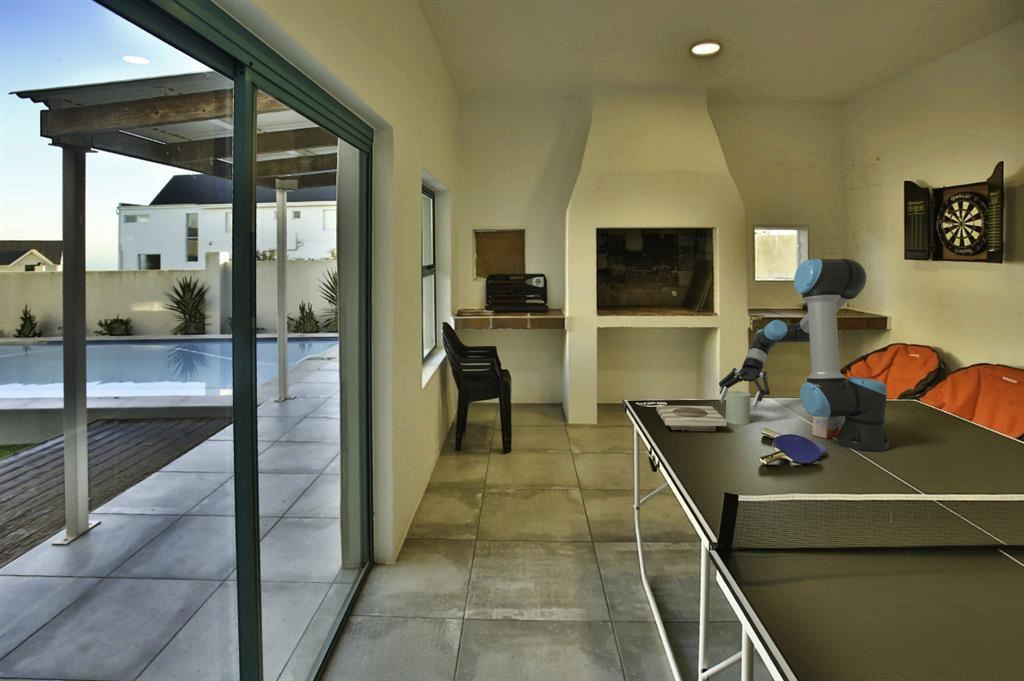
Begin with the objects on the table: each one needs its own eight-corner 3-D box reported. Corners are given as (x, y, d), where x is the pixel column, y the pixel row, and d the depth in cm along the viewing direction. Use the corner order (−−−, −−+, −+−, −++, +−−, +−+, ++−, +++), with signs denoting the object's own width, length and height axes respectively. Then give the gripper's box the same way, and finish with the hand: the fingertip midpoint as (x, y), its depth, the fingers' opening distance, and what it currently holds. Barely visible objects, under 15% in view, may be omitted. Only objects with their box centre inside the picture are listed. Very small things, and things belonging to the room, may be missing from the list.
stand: (726, 433, 213) (726, 419, 213) (665, 433, 215) (666, 419, 215) (711, 418, 235) (711, 405, 234) (656, 417, 237) (656, 404, 236)
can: (745, 418, 233) (747, 389, 232) (753, 425, 224) (754, 395, 223) (722, 418, 234) (723, 389, 233) (728, 424, 225) (729, 394, 224)
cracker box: (828, 439, 204) (831, 382, 202) (810, 435, 209) (813, 379, 207) (846, 432, 213) (849, 377, 210) (829, 429, 217) (832, 374, 215)
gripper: (787, 371, 231) (771, 414, 222) (727, 364, 248) (710, 404, 240) (783, 360, 226) (766, 404, 218) (722, 353, 244) (704, 394, 236)
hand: (737, 404), depth 229 cm, fingers open, 13 cm apart
